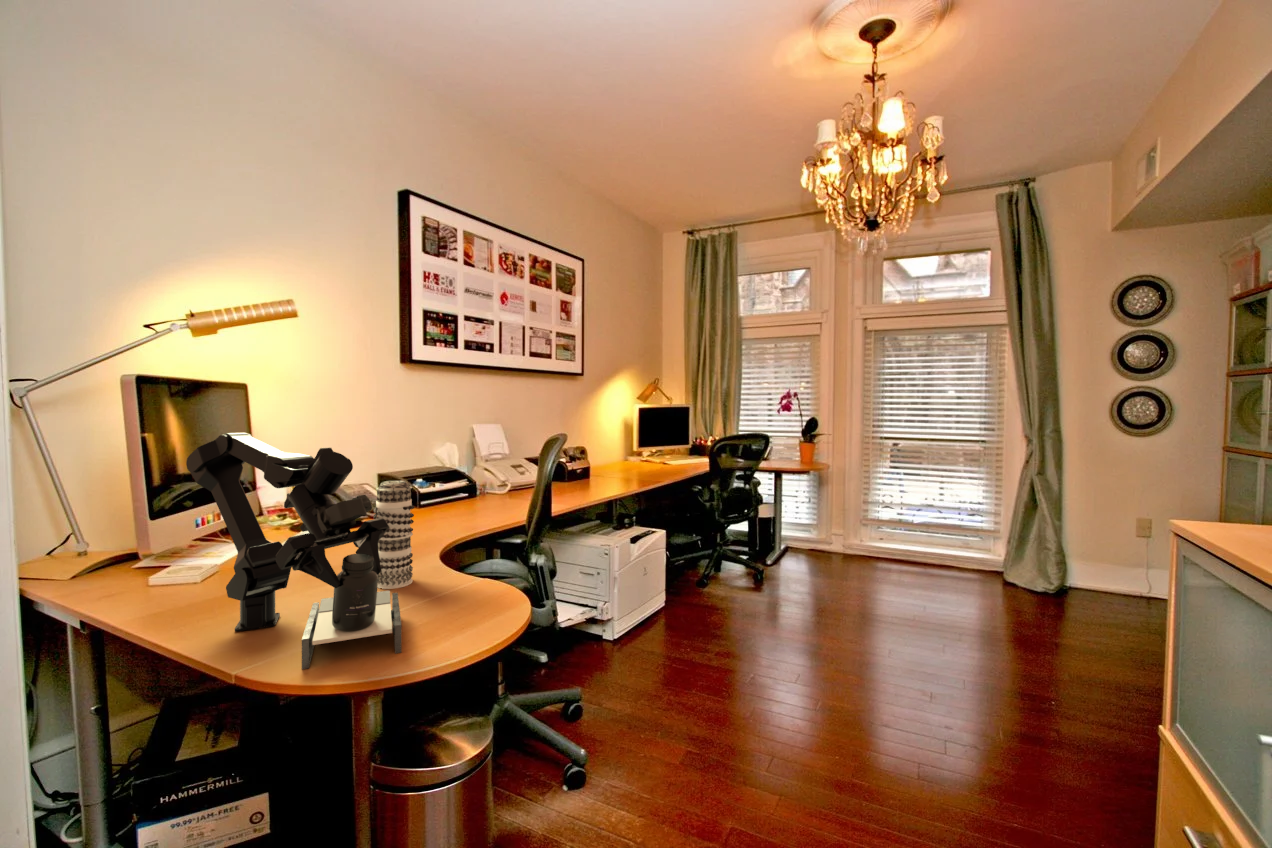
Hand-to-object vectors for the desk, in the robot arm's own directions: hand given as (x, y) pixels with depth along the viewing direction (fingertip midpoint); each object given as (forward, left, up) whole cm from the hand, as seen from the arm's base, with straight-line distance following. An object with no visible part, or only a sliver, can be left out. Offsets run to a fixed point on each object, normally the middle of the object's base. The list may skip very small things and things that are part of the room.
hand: (359, 579), depth 94 cm
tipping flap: (-6, -1, -11) cm, 12 cm away
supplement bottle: (-1, -1, -8) cm, 8 cm away
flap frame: (-6, -1, -13) cm, 14 cm away
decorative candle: (-38, +7, -13) cm, 41 cm away
